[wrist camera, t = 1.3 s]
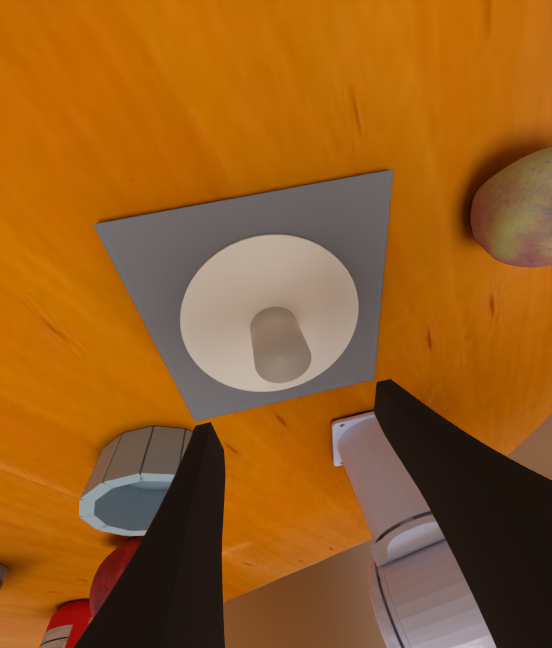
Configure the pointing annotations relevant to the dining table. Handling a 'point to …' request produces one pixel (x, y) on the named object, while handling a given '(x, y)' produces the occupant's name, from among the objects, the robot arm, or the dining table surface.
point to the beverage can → (67, 625)
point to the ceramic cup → (2, 574)
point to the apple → (517, 212)
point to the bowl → (132, 479)
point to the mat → (238, 223)
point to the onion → (110, 573)
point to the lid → (269, 312)
